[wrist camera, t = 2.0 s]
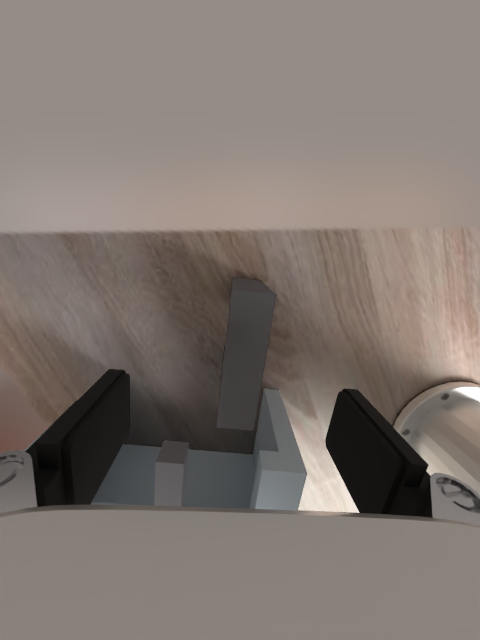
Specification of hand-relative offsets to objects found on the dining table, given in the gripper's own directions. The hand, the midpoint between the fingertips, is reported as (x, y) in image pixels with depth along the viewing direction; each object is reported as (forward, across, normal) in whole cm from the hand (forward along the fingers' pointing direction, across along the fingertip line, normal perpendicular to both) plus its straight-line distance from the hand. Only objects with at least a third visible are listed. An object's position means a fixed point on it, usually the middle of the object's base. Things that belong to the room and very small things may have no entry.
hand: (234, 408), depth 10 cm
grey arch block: (+13, -1, 0) cm, 13 cm away
